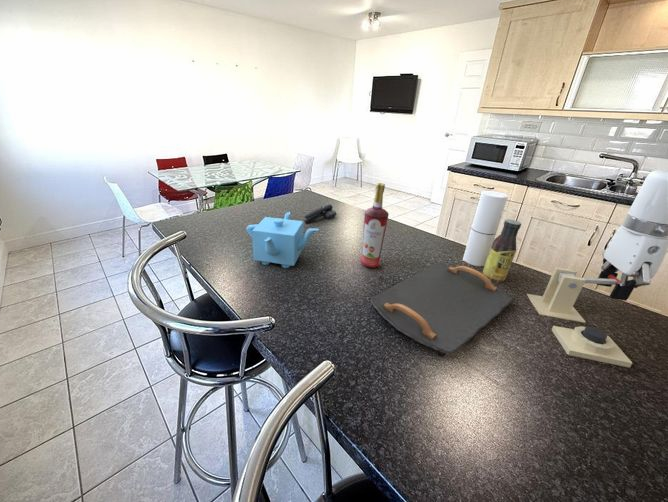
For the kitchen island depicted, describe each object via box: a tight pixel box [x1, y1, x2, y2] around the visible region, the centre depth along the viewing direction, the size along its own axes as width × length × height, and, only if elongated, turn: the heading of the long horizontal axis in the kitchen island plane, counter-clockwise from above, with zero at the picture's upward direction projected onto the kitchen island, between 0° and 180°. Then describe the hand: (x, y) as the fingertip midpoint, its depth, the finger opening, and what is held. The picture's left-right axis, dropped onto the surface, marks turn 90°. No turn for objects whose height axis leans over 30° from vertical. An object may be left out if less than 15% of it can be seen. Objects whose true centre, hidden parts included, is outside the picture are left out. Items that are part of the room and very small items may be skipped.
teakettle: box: [246, 211, 320, 269], centre depth 99 cm, size 19×19×15 cm
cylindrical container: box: [462, 190, 509, 267], centre depth 97 cm, size 7×7×25 cm
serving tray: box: [370, 263, 514, 358], centre depth 79 cm, size 39×23×6 cm, turn 126°
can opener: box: [303, 204, 337, 224], centre depth 134 cm, size 18×7×6 cm, turn 130°
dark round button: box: [582, 326, 608, 344], centre depth 65 cm, size 4×4×2 cm
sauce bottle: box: [482, 218, 522, 284], centre depth 89 cm, size 6×6×20 cm
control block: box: [551, 325, 633, 368], centre depth 66 cm, size 11×8×4 cm
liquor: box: [359, 182, 390, 269], centre depth 94 cm, size 7×7×28 cm
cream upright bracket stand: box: [526, 267, 587, 324], centre depth 77 cm, size 10×9×12 cm
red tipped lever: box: [558, 273, 621, 286], centre depth 74 cm, size 12×5×2 cm, turn 73°
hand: (610, 291), depth 74 cm, fingers closed on red tipped lever, 5 cm apart
